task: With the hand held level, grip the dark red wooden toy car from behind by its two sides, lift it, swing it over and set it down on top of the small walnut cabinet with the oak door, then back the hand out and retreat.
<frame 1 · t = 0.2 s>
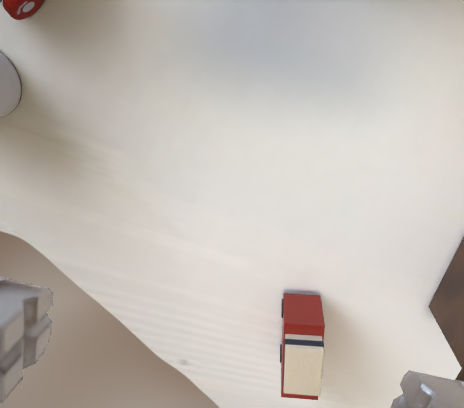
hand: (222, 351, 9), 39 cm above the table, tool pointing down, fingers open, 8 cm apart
car: (299, 326, 57), on the table
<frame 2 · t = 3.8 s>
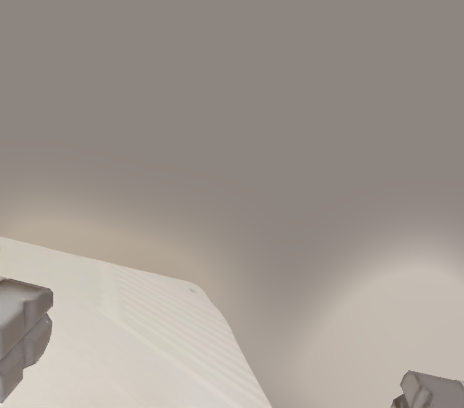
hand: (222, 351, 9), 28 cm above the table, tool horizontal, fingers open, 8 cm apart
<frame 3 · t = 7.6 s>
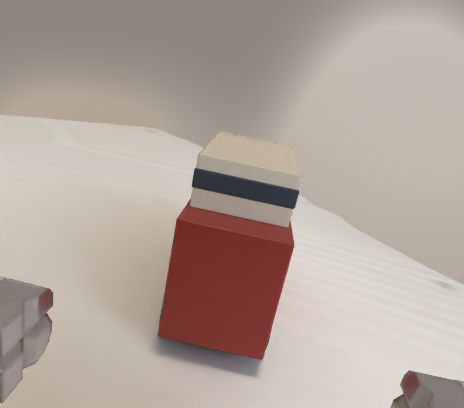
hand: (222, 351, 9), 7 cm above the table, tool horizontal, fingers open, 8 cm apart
car: (222, 293, 24), on the table
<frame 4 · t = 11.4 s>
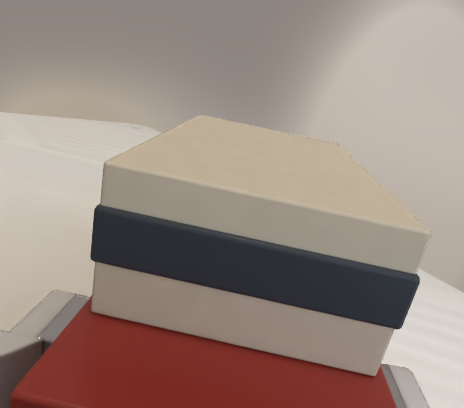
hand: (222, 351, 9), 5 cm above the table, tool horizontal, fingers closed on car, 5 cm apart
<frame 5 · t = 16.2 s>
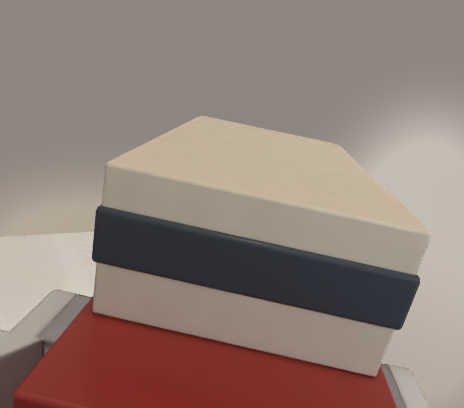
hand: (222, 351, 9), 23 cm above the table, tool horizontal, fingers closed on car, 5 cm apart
when the fingers open (19 cm above the table, at t = 21.3 s): car stays where it is, resting on cabinet.
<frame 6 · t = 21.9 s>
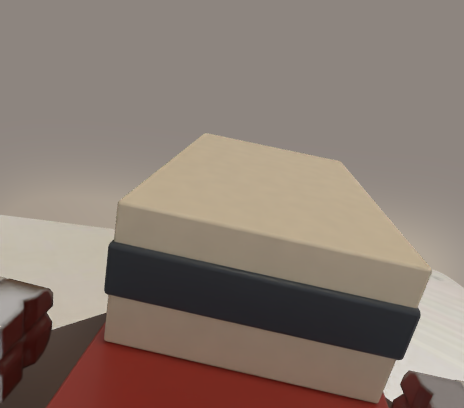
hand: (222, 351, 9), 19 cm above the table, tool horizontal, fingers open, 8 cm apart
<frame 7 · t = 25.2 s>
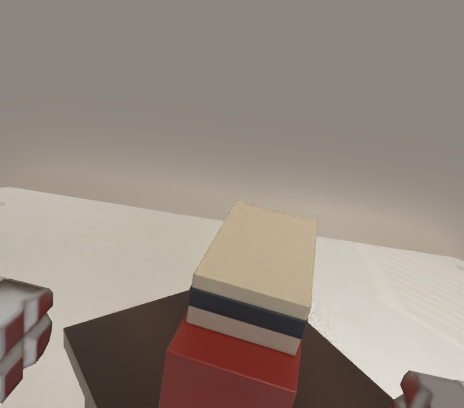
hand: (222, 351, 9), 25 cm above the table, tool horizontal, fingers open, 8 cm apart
car: (235, 370, 23), point 13 cm above the table, touching cabinet
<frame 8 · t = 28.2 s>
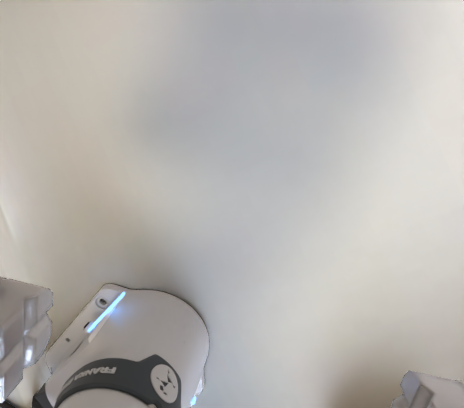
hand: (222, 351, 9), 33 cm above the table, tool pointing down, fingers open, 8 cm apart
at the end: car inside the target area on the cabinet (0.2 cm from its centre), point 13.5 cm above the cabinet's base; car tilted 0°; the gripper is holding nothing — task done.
